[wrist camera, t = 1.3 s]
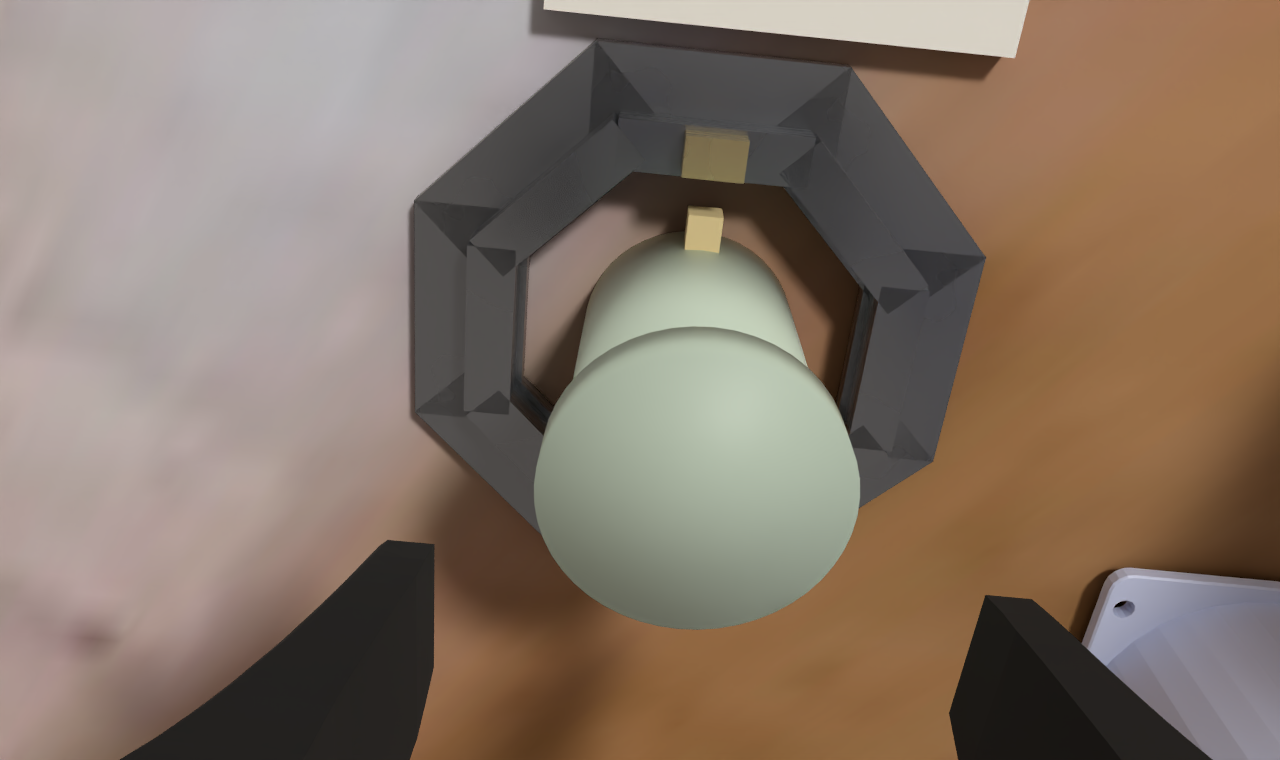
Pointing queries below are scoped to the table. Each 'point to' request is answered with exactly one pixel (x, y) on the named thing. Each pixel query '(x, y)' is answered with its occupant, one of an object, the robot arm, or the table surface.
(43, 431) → the table surface
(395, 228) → the table surface
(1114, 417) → the table surface
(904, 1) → the plate
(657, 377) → the pale green jar
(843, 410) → the bayonet collar
